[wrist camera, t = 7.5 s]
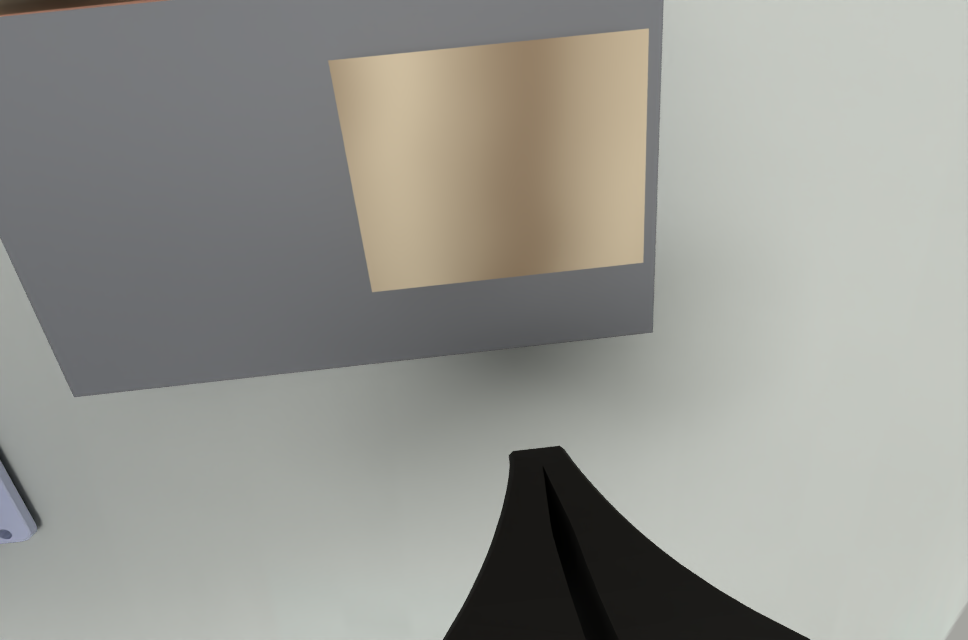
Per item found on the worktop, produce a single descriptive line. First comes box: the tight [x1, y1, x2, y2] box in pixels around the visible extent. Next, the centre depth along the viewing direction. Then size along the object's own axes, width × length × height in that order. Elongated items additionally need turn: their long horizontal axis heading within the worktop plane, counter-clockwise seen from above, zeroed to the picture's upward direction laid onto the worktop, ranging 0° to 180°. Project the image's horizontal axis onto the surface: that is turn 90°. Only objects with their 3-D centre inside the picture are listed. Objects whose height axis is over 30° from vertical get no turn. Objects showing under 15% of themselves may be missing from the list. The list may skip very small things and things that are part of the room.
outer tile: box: [328, 29, 649, 292], centre depth 14 cm, size 8×6×2 cm
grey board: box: [0, 0, 663, 397], centre depth 15 cm, size 20×11×2 cm, turn 96°
